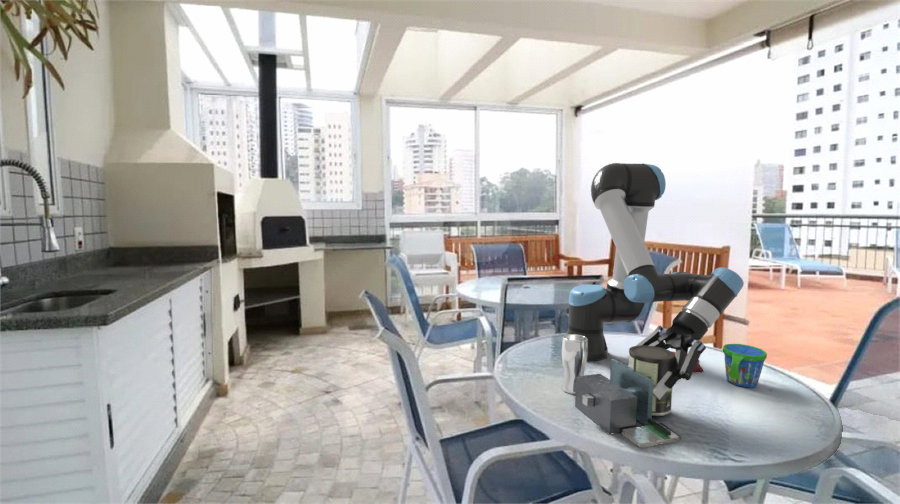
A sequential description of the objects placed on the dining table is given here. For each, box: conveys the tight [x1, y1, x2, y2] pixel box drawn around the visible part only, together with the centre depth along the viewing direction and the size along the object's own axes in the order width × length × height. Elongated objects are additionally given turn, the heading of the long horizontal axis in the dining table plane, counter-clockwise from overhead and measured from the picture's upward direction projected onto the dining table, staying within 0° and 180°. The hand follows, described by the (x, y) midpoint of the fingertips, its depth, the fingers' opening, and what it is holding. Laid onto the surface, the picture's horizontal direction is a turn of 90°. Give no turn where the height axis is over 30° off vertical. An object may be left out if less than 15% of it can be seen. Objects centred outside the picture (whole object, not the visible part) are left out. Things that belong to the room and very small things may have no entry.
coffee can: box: [628, 345, 675, 417], centre depth 109 cm, size 10×10×14 cm
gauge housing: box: [574, 373, 682, 449], centre depth 104 cm, size 20×14×8 cm, turn 16°
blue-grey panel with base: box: [582, 358, 672, 436], centre depth 103 cm, size 20×13×11 cm, turn 16°
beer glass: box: [561, 333, 588, 395], centre depth 121 cm, size 7×7×15 cm
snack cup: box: [722, 343, 768, 388], centre depth 127 cm, size 16×10×10 cm
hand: (639, 386), depth 108 cm, fingers closed on coffee can, 10 cm apart
